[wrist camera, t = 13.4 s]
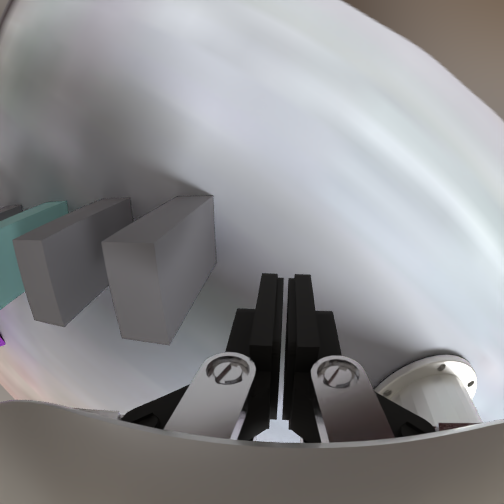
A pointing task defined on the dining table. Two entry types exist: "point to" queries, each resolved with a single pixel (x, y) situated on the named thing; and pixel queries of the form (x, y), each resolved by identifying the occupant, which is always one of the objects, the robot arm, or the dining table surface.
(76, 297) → the tile
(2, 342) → the arrowhead
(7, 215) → the tile
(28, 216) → the teal tile
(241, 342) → the robot arm
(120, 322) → the tile
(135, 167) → the dining table surface
